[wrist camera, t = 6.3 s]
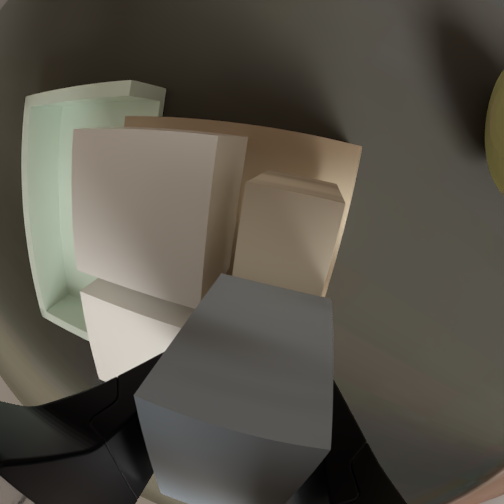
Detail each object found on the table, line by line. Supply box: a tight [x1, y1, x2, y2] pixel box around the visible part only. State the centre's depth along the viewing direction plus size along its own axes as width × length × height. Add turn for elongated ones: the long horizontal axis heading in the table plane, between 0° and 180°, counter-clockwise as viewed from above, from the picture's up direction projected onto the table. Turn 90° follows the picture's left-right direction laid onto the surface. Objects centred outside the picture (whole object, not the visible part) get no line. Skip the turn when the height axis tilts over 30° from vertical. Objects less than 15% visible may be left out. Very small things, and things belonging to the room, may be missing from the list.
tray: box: [21, 80, 166, 341], centre depth 16 cm, size 17×9×4 cm, turn 171°
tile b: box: [71, 127, 248, 309], centre depth 10 cm, size 6×6×4 cm
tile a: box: [80, 278, 195, 382], centre depth 13 cm, size 6×6×4 cm
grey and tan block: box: [134, 170, 346, 504], centre depth 8 cm, size 10×3×8 cm, turn 171°
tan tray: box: [124, 116, 362, 297], centre depth 15 cm, size 13×10×4 cm
